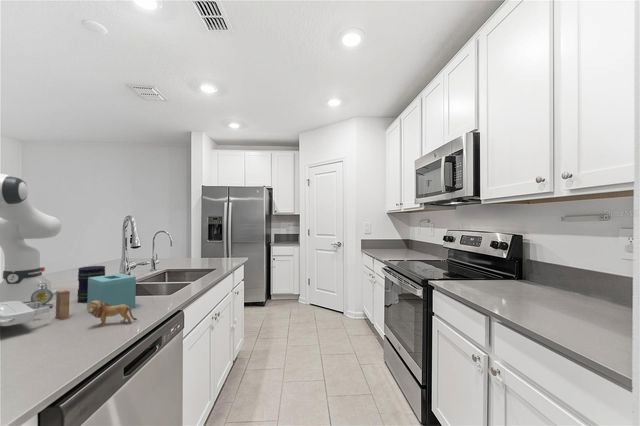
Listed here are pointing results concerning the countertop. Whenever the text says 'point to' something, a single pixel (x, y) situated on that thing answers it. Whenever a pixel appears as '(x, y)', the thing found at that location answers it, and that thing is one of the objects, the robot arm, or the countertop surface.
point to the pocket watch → (40, 294)
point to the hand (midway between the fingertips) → (45, 306)
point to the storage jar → (83, 280)
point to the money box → (112, 289)
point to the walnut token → (62, 304)
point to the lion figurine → (108, 311)
